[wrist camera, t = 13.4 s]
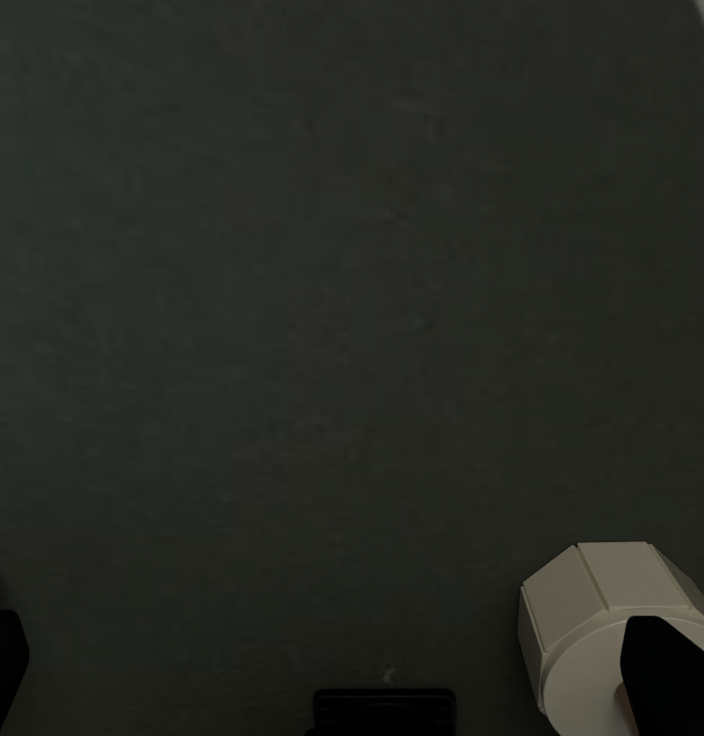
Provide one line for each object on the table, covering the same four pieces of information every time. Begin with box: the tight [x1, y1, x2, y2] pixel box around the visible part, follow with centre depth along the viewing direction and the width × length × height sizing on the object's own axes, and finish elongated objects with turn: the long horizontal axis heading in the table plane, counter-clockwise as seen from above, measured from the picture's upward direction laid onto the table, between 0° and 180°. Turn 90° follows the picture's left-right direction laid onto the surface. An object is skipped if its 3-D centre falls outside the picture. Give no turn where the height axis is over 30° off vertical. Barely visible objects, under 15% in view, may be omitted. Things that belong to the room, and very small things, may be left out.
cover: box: [517, 542, 704, 736], centre depth 21 cm, size 7×7×8 cm
